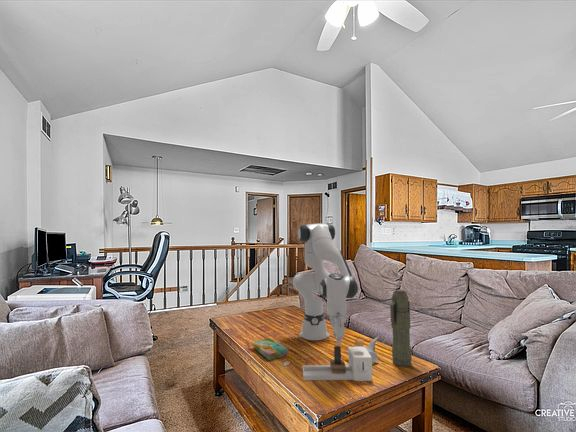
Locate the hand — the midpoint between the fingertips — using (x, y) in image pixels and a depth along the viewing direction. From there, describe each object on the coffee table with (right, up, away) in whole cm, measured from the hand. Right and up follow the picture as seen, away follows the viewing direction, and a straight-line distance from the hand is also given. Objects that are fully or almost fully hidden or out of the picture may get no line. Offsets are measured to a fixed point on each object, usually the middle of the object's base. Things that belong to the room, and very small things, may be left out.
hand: (337, 340), depth 140 cm
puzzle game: (-33, -17, +25) cm, 45 cm away
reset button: (+10, -2, -1) cm, 10 cm away
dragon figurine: (+17, -16, +16) cm, 28 cm away
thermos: (+33, -15, +10) cm, 38 cm away
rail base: (-1, -15, -1) cm, 15 cm away
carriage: (0, -13, -1) cm, 13 cm away
